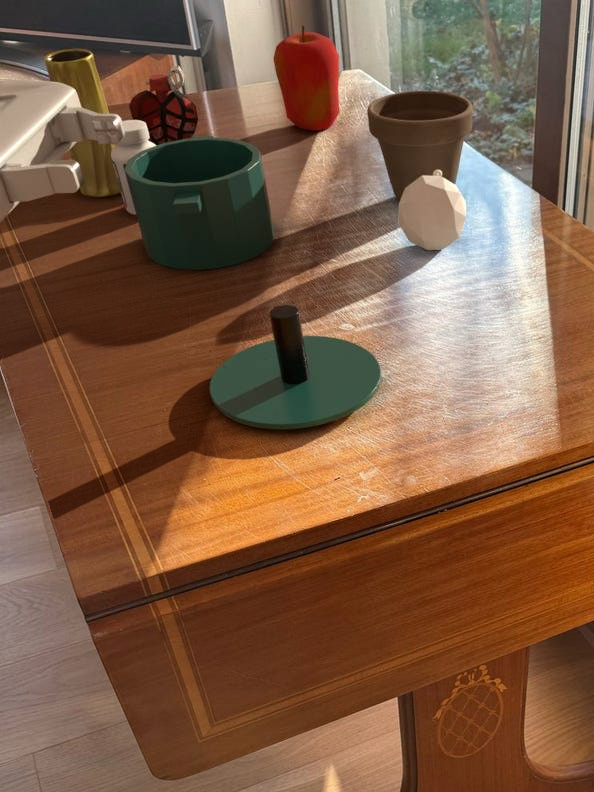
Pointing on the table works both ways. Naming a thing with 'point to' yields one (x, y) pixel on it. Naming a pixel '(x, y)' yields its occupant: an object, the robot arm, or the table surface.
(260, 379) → the lid
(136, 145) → the pill bottle
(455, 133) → the flower pot
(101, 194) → the vase
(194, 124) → the grenade
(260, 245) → the pot
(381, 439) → the table surface
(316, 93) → the apple
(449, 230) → the ornament
